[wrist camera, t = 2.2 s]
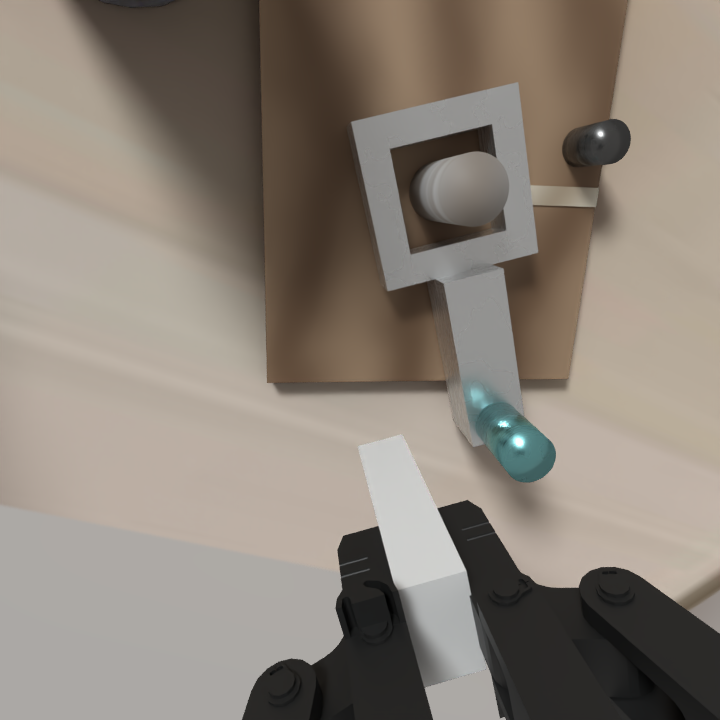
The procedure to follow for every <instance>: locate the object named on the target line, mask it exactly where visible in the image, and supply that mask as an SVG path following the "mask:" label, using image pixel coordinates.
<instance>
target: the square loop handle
mask: <svg viewBox="0 0 720 720" xmlns="http://www.w3.org/2000/svg"><path fill="white" fill-rule="evenodd" d="M346 128H347V133H348V137H349V142H350V146H351V151H352V155H353V160H354V164H355V169H356V174H357V178H358V183H359V187H360V192H361V196H362V201H363V205H364V210H365V215H366V219H367V224H368V228H369V233H370V237H371V242H372V246H373V251H374V256H375V260H376V265H377V269H378V274H379V278H380V283H381V286H382V287H384V288H385V289H386V290H387V291H391V290H395V289H399V288H403V287H407V286H411V285H415V284H419V283H422V282H426V281H427V285H428V290H429V295H430V300H431V306H432V311H433V316H434V321H435V327H436V332H437V337H438V342H439V348H440V353H441V358H442V363H443V369H444V374H445V379H446V384H447V390H448V395H449V400H450V405H451V411H452V416H453V421H454V422H455V423H456V425H457V426H458V427H459V429H460V430H461V432H462V433H463V434H464V436H465V437H466V438H467V440H468V441H469V442H470V444H471V445H472V446H473V447H476V446H479V445H483V444H485V445H486V446H487V447H488V449H489V450H490V451H491V452H492V454H493V455H494V456H495V457H496V459H497V460H498V461H499V462H500V464H501V465H502V466H503V467H504V469H505V470H506V471H507V472H508V474H509V475H510V476H511V477H512V478H513V479H515V480H517V481H520V482H534V481H537V480H539V479H541V478H542V477H544V476H545V475H546V474H547V473H548V472H549V471H550V470H551V468H552V467H553V465H554V462H555V458H556V451H555V448H554V445H553V444H552V442H551V441H550V440H549V439H548V438H546V437H545V436H544V435H543V434H542V433H541V432H540V431H539V430H538V429H537V428H536V427H535V426H533V425H532V424H531V423H530V422H529V421H528V420H527V419H526V418H525V417H524V411H523V404H522V397H521V390H520V383H519V376H518V368H517V361H516V354H515V347H514V340H513V333H512V326H511V319H510V312H509V305H508V298H507V290H506V283H505V276H504V269H503V268H501V267H498V266H494V265H492V264H496V263H500V262H504V261H508V260H512V259H516V258H520V257H524V256H527V255H531V254H535V253H538V246H537V237H536V229H535V220H534V212H533V203H532V195H531V186H530V178H529V169H528V161H527V153H526V144H525V136H524V127H523V119H522V110H521V102H520V93H519V85H518V82H516V83H512V84H508V85H504V86H499V87H495V88H491V89H487V90H483V91H478V92H474V93H470V94H466V95H462V96H457V97H453V98H449V99H445V100H441V101H436V102H432V103H428V104H424V105H419V106H415V107H411V108H407V109H403V110H398V111H394V112H390V113H386V114H382V115H377V116H373V117H369V118H365V119H361V120H356V121H352V122H350V124H349V125H348V126H347V127H346ZM473 130H477V131H478V137H479V144H480V151H481V152H485V153H488V154H490V155H492V156H494V157H495V158H497V159H498V160H499V161H500V162H501V164H502V165H503V166H504V168H505V170H506V172H507V175H508V179H509V194H508V198H507V202H506V204H505V206H504V208H503V210H502V211H501V212H500V214H499V215H498V216H497V217H496V218H494V219H493V220H492V221H491V227H492V228H491V229H487V230H483V231H479V232H475V233H471V234H467V235H463V236H459V237H455V238H451V239H447V240H443V241H439V242H436V243H432V244H428V245H424V246H420V247H416V248H412V249H409V244H408V239H407V234H406V229H405V224H404V219H403V214H402V209H401V204H400V199H399V193H398V188H397V183H396V178H395V173H394V168H393V163H392V158H391V153H390V150H394V149H398V148H403V147H407V146H411V145H415V144H419V143H423V142H427V141H432V140H436V139H440V138H444V137H448V136H452V135H456V134H460V133H465V132H469V131H473Z"/></svg>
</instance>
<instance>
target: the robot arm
mask: <svg viewBox="0 0 720 720" xmlns="http://www.w3.org/2000/svg"><path fill="white" fill-rule="evenodd" d="M358 449H359V453H360V457H361V461H362V465H363V469H364V472H365V476H366V480H367V484H368V488H369V492H370V495H371V499H372V503H373V507H374V511H375V515H376V518H377V522H378V526H377V527H374V528H370V529H366V530H363V531H359V532H356V533H352V534H348V535H345V536H343V538H342V540H341V543H340V545H339V548H338V558H339V565H340V574H341V581H342V589H343V590H342V592H341V593H340V595H339V596H338V598H337V602H336V612H337V615H338V618H339V621H340V625H341V628H342V631H343V634H344V637H343V638H342V640H341V642H340V643H339V645H338V646H337V647H336V648H335V649H334V650H333V651H332V652H331V653H330V654H328V655H327V656H326V657H324V658H323V659H321V660H319V661H318V662H316V663H315V664H313V665H310V664H308V663H306V662H305V661H303V660H298V659H288V660H284V661H280V662H278V663H276V664H274V665H273V666H271V667H270V668H268V669H267V670H266V671H265V672H264V673H263V674H262V675H261V676H260V677H259V678H258V679H257V681H256V683H255V685H254V687H253V689H252V691H251V694H250V697H249V700H248V703H247V706H246V710H245V713H244V715H243V719H242V720H433V718H432V714H431V710H430V707H429V703H428V700H427V696H426V692H425V689H424V688H425V687H427V686H431V685H435V684H438V683H441V682H445V681H448V680H452V679H455V678H459V677H462V676H465V675H469V674H472V673H475V672H479V671H482V670H486V665H485V660H486V662H487V665H488V667H489V670H490V672H491V675H492V680H493V685H494V690H495V695H496V700H497V705H498V710H499V715H500V718H502V717H505V718H506V720H720V634H719V633H718V632H717V631H715V630H714V629H712V628H711V627H710V626H708V625H707V624H705V623H704V622H703V621H701V620H700V619H698V618H697V617H696V616H694V615H693V614H691V613H690V612H689V611H687V610H686V609H685V608H683V607H682V606H680V605H679V604H678V603H676V602H675V601H673V600H672V599H671V598H669V597H668V596H666V595H665V594H664V593H662V592H661V591H660V590H658V589H657V588H655V587H654V586H653V585H651V584H650V583H648V582H647V581H646V580H644V579H643V578H641V577H640V576H638V575H636V574H634V573H632V572H630V571H629V570H625V569H621V568H616V567H601V568H598V569H595V570H591V571H589V572H588V573H587V574H586V575H585V576H583V577H582V579H581V582H580V585H579V588H551V587H546V586H542V585H538V584H536V583H535V582H534V581H533V580H532V579H531V578H530V577H529V576H527V575H525V574H522V573H521V572H520V571H519V570H518V568H517V566H516V565H515V563H514V561H513V560H512V558H511V557H510V555H509V553H508V552H507V550H506V548H505V547H504V545H503V544H502V542H501V540H500V539H499V537H498V535H497V534H496V533H495V530H494V529H493V527H492V526H491V524H490V523H489V521H488V519H487V517H486V516H485V514H484V513H483V511H482V509H481V508H479V507H478V506H476V505H474V504H473V503H471V502H470V501H468V500H466V501H462V502H459V503H455V504H452V505H448V506H444V507H441V508H437V507H436V505H435V503H434V501H433V499H432V496H431V494H430V492H429V490H428V488H427V486H426V484H425V482H424V479H423V477H422V475H421V473H420V471H419V469H418V467H417V465H416V462H415V460H414V458H413V456H412V454H411V452H410V450H409V447H408V445H407V443H406V441H405V439H404V437H403V435H402V434H401V435H398V436H394V437H390V438H387V439H383V440H379V441H375V442H372V443H368V444H364V445H361V446H358ZM484 658H485V660H484Z"/></svg>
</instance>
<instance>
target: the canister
mask: <svg viewBox="0 0 720 720" xmlns="http://www.w3.org/2000/svg"><path fill="white" fill-rule="evenodd" d="M100 1H102V2H105V3H110V4H115V5H121V6H126V7H151V6H163V5H165V4H167V3H170V2H172V1H174V0H100Z"/></svg>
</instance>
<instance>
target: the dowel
mask: <svg viewBox="0 0 720 720" xmlns="http://www.w3.org/2000/svg"><path fill="white" fill-rule="evenodd" d="M630 141H631V136H630V131H629V129H628V127H627V126H626V124H625V123H624V122H622V121H620V120H617V119H610V120H606V121H602V122H598V123H594V124H590V125H586V126H582V127H578V128H575V129H573V130H572V131H570V132H569V133H568V134H567V136H566V137H565V139H564V141H563V145H562V154H563V157H564V159H565V161H566V162H567V163H568V164H569V165H570V166H572V167H587V166H597V165H606V164H613V163H616V162H618V161H619V160H621V159H622V158H623V157H624V156H625V154H626V153H627V151H628V149H629V146H630Z"/></svg>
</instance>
